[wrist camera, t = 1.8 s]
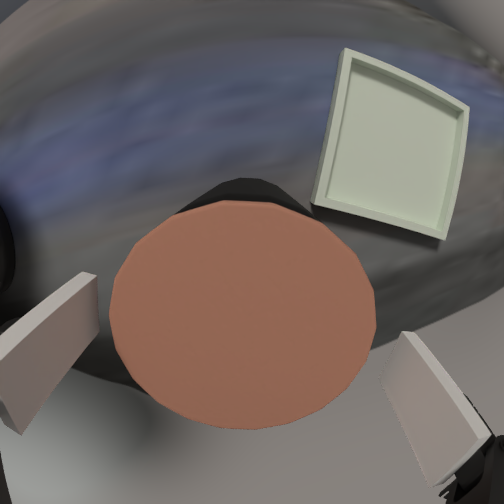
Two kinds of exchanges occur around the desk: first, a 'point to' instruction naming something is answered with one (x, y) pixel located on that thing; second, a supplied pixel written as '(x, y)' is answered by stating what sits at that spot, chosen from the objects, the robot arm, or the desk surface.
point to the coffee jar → (243, 309)
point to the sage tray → (391, 147)
